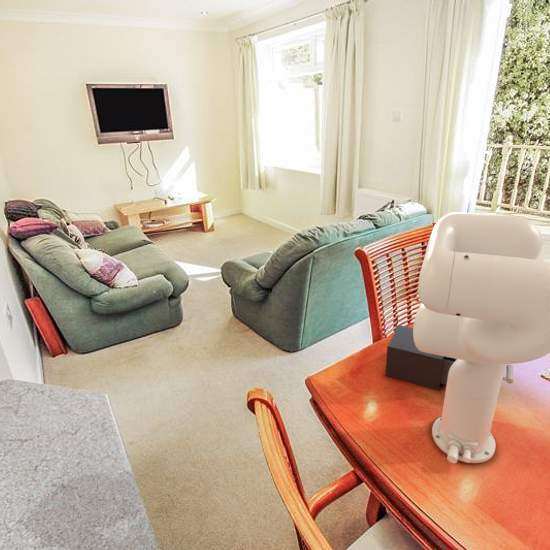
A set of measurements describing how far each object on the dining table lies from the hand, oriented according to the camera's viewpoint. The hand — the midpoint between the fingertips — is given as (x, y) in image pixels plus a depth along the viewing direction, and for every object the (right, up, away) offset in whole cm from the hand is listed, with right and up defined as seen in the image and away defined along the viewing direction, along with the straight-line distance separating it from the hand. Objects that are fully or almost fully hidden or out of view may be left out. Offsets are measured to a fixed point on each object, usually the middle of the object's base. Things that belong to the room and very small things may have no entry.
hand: (469, 354), depth 95 cm
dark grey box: (-10, -6, +10) cm, 15 cm away
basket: (+1, -8, +3) cm, 8 cm away
